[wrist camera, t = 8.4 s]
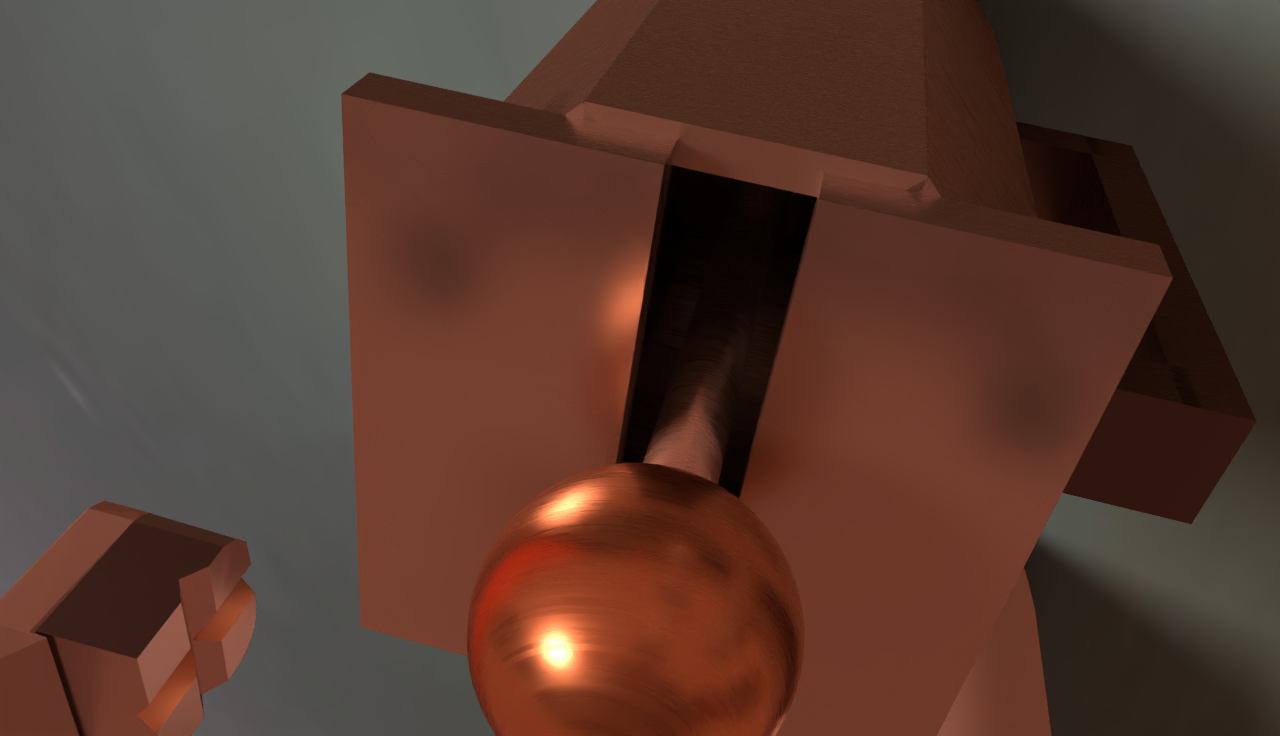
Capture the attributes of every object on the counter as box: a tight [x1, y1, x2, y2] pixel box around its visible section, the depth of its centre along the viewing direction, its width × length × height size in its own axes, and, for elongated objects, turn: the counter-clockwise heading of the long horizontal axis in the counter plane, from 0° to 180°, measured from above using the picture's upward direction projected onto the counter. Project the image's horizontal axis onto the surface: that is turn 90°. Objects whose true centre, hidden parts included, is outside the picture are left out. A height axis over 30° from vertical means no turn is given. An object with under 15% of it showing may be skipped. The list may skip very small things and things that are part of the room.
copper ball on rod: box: [467, 165, 817, 736], centre depth 17 cm, size 7×7×18 cm
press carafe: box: [341, 0, 1256, 736], centre depth 20 cm, size 9×12×17 cm
